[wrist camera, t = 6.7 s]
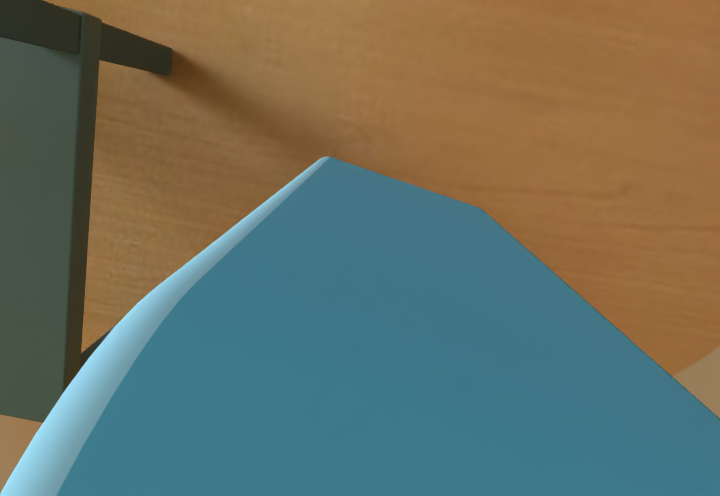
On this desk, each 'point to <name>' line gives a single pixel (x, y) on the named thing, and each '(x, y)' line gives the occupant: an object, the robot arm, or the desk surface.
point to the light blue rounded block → (369, 368)
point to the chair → (49, 190)
